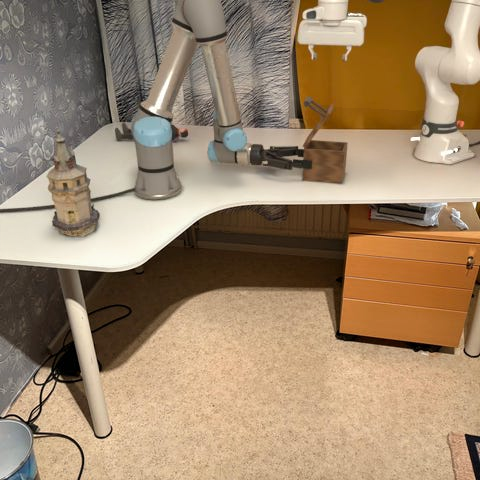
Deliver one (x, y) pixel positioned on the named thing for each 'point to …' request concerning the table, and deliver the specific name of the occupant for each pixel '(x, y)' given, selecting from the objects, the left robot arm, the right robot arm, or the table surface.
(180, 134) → the toy
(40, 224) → the table surface
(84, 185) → the miniature building
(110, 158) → the table surface
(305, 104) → the lid
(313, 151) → the chest
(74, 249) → the table surface
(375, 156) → the table surface
